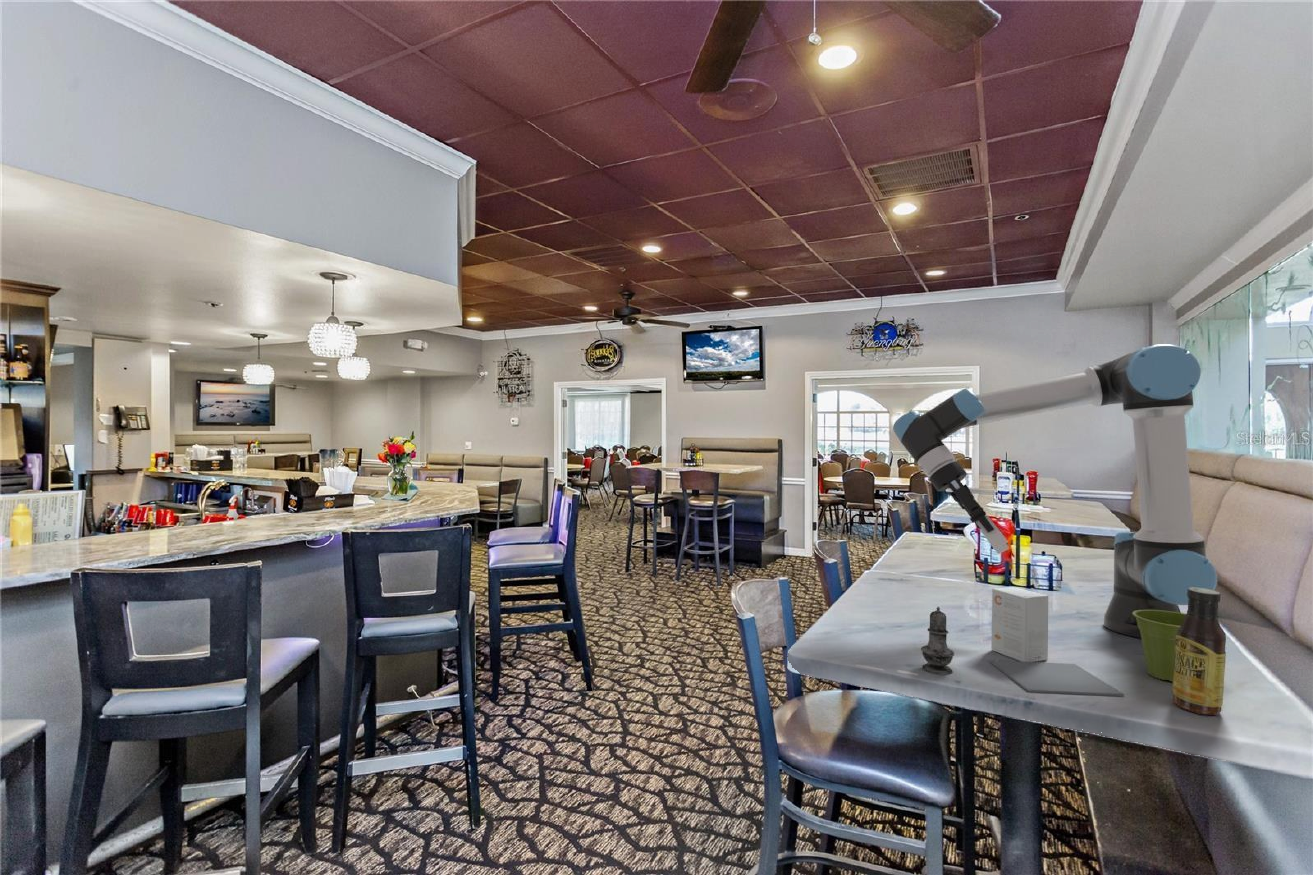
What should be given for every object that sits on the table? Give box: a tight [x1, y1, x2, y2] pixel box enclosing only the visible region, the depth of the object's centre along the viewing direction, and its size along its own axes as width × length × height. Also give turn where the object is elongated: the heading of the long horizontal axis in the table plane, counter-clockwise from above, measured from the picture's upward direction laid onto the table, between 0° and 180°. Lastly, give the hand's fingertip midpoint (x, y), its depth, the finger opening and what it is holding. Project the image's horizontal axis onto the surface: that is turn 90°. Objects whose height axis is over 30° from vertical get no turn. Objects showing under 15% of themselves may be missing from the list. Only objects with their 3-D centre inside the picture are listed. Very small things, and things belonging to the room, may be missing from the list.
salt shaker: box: [920, 606, 955, 676], centre depth 117 cm, size 6×6×12 cm
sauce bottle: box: [1172, 587, 1227, 716], centre depth 101 cm, size 7×6×20 cm
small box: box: [990, 586, 1049, 662], centre depth 125 cm, size 8×6×13 cm
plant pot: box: [1133, 610, 1187, 683], centre depth 115 cm, size 12×12×11 cm
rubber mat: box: [989, 659, 1125, 697], centre depth 113 cm, size 16×14×1 cm
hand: (1003, 548), depth 133 cm, fingers open, 13 cm apart
